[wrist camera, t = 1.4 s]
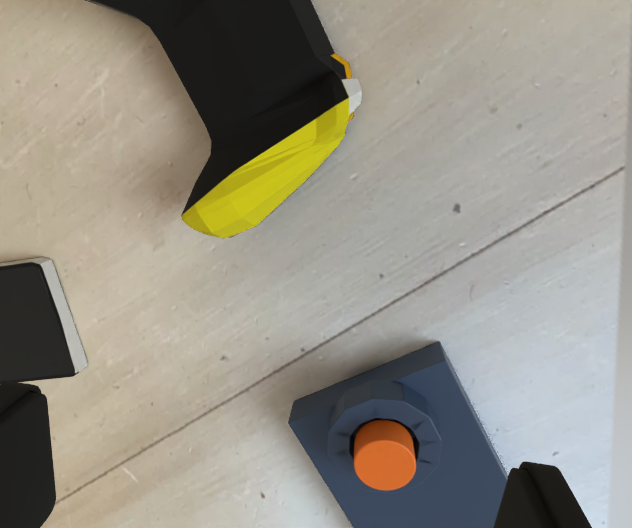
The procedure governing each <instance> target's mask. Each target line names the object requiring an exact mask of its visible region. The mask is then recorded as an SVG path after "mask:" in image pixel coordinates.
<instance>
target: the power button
mask: <svg viewBox="0 0 632 528" xmlns="http://www.w3.org/2000/svg"><path fill="white" fill-rule="evenodd" d="M354 469H355V472H356V474H357V476H358V477H359V479H360V480H361V481H362V482H363V483H365V484H366V485H368V486H370V487H372V488H374V489H378V490H386V491H387V490H395V489H398V488H401V487H403V486H405V485H406V484H407V483H408V482H410V480H411V479H412V478H413V476H414V474H415V471H416V460H415V453H414V446H413V440H412V437H411V435H410V433H409V432H408V431H407V430H406V429H405V428H404V427H403V426H402V425H400V424H399V423H397V422H394V421H390V420H375V421H371V422H369V423H367V424H365V425H364V426H363V427H362V428H361V429H360V430H359V431H358V433H357V434H356V437H355V442H354Z"/></svg>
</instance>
